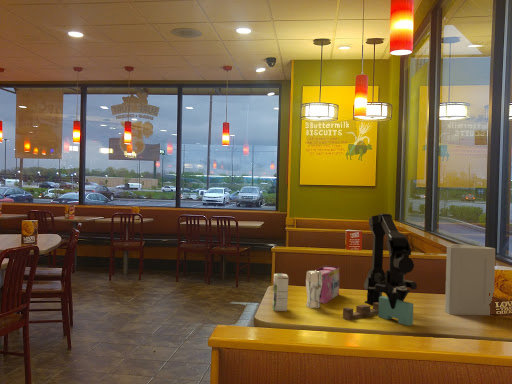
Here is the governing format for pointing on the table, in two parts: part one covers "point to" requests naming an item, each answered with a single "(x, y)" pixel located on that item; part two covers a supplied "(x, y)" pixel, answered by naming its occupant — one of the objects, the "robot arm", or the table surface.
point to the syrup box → (280, 292)
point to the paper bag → (469, 279)
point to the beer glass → (313, 288)
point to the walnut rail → (360, 311)
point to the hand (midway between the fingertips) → (395, 308)
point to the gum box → (329, 283)
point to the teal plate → (396, 311)
